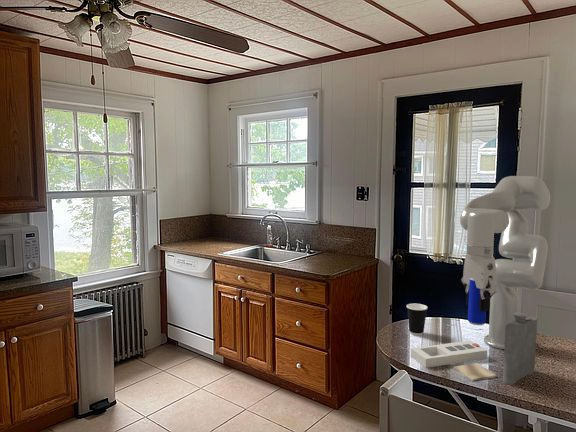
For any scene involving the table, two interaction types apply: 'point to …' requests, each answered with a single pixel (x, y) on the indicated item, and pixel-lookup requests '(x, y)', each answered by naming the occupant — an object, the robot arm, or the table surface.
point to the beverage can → (475, 305)
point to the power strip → (448, 353)
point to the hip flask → (519, 348)
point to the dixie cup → (416, 318)
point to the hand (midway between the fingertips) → (477, 307)
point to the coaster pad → (475, 371)
